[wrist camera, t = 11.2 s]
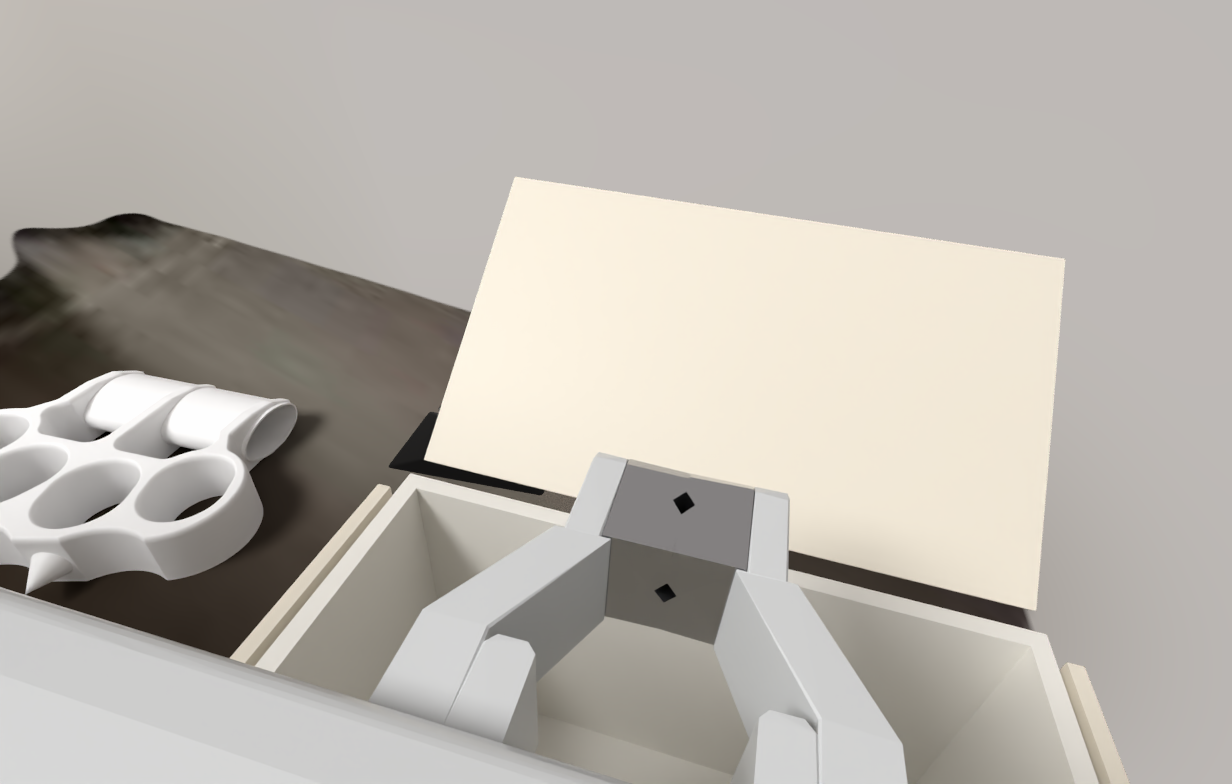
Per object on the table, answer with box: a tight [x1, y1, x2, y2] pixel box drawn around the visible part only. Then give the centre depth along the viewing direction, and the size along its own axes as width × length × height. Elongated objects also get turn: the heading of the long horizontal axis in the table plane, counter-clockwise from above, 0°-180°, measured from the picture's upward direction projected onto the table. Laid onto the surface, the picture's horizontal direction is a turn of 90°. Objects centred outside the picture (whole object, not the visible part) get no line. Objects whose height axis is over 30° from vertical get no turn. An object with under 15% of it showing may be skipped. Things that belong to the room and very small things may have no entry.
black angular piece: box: [389, 404, 544, 495], centre depth 36 cm, size 12×7×5 cm, turn 79°
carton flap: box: [424, 177, 1065, 611], centre depth 18 cm, size 17×10×1 cm
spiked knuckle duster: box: [0, 371, 298, 594], centre depth 32 cm, size 3×18×15 cm
